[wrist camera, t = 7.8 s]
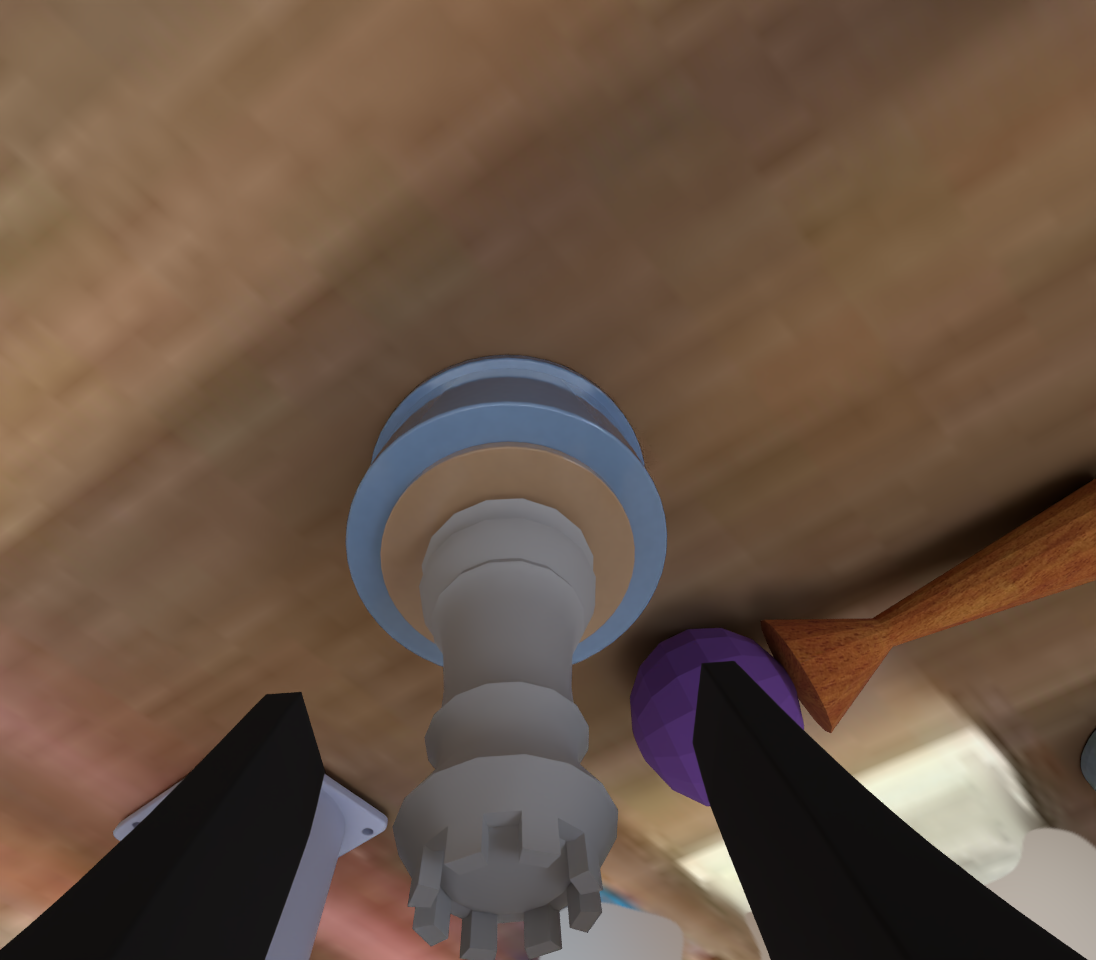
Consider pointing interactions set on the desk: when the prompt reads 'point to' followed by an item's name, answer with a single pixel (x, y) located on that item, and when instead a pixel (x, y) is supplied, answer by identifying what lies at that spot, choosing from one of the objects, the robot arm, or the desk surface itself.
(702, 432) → the desk surface
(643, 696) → the kendama
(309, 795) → the robot arm
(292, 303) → the desk surface
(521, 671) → the rook chess piece
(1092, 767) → the grey textured cup
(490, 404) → the short blue cylinder
